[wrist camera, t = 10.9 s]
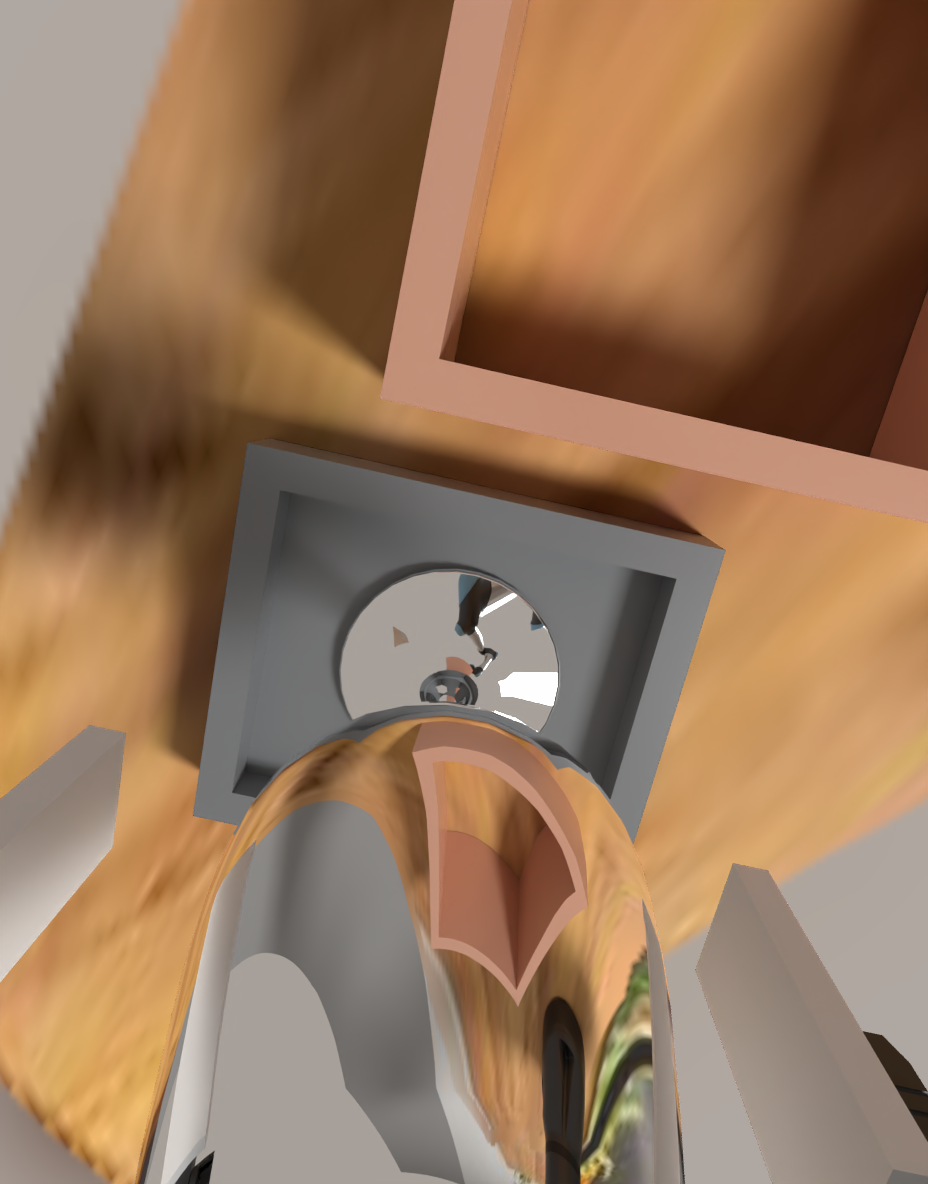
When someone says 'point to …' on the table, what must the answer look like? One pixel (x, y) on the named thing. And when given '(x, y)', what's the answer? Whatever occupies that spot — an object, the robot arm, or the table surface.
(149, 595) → the table surface
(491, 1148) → the wineglass
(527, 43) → the table surface
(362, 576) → the tray
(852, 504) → the holder
